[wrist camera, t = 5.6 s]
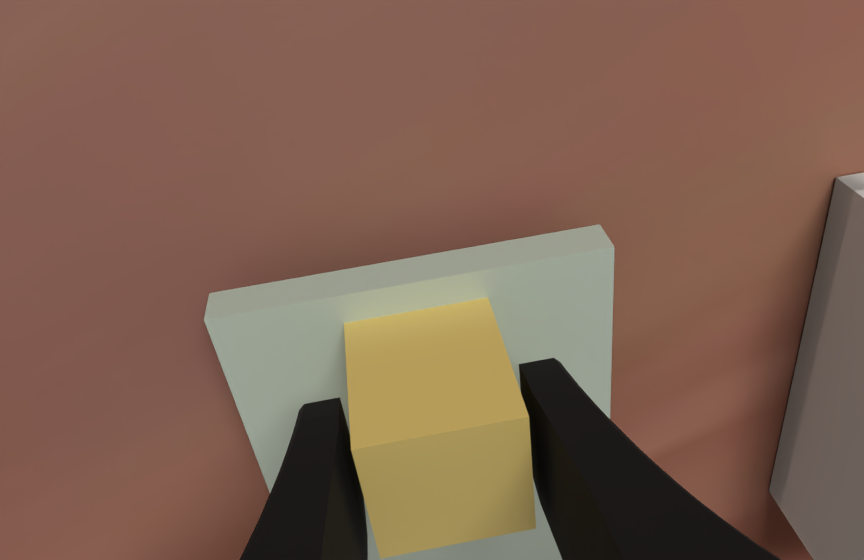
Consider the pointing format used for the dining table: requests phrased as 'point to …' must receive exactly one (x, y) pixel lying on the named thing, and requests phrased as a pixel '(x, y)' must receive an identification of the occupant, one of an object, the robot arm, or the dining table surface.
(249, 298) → the lid
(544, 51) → the dining table surface
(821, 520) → the tub
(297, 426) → the robot arm
